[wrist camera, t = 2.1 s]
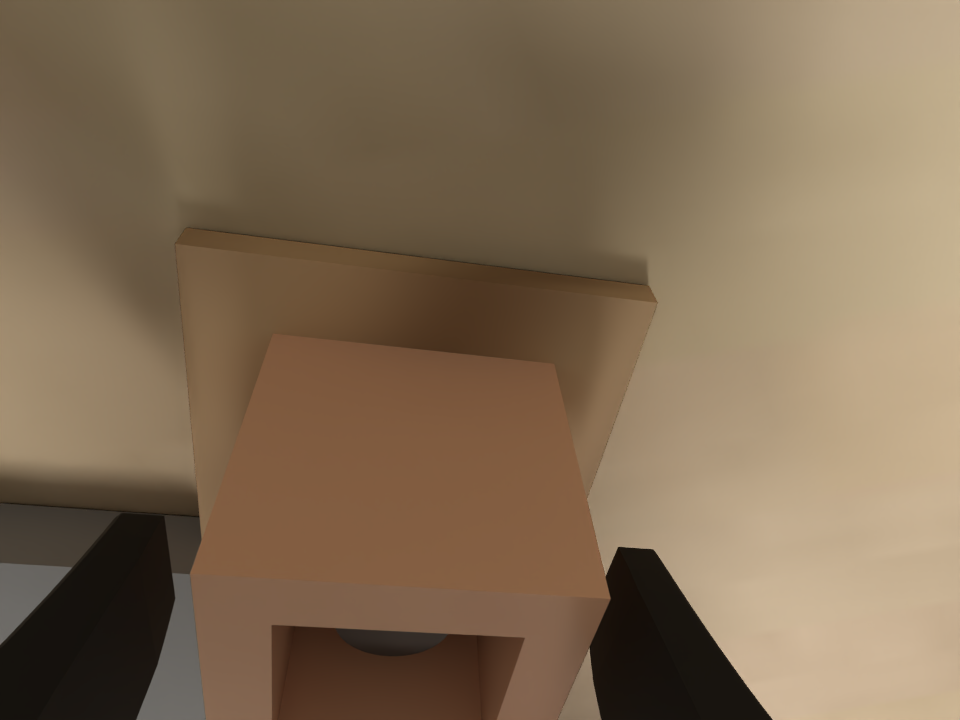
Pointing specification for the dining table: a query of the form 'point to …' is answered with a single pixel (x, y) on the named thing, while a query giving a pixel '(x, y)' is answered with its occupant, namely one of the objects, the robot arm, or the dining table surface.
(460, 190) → the dining table surface
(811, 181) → the dining table surface
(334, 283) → the stand
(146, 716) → the tray
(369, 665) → the brown cube box
